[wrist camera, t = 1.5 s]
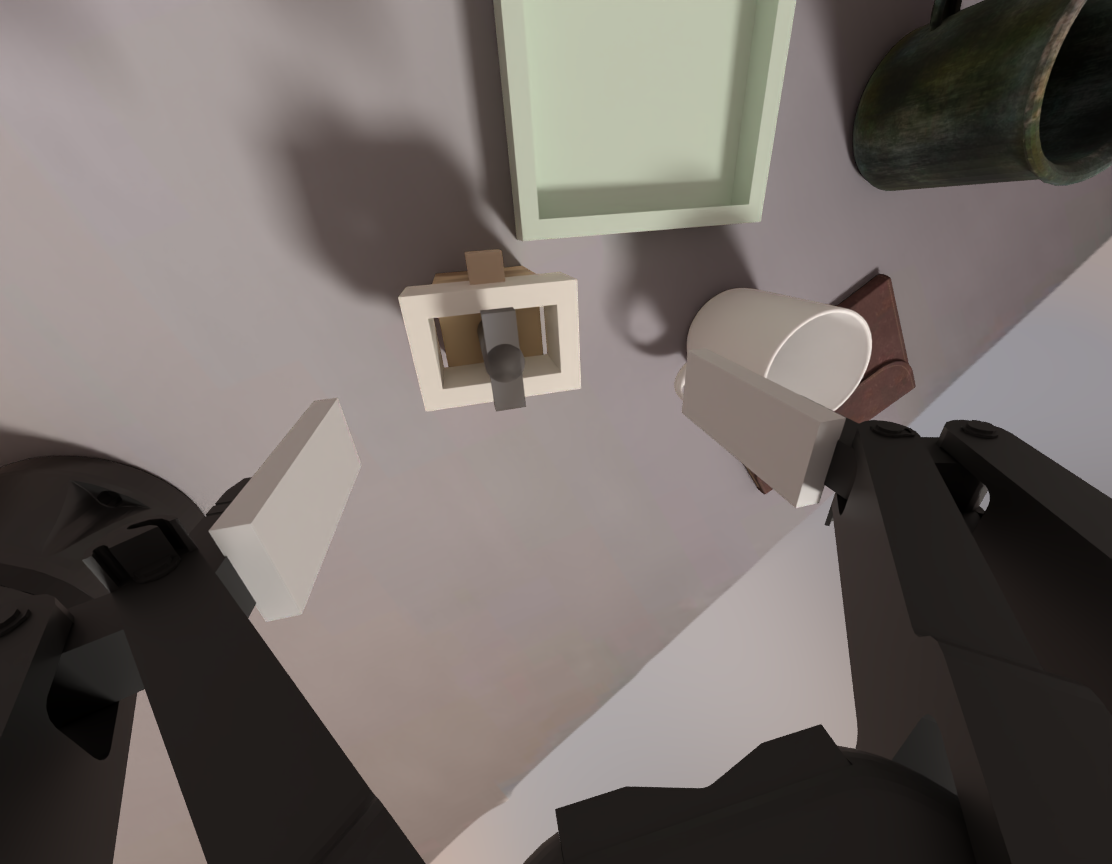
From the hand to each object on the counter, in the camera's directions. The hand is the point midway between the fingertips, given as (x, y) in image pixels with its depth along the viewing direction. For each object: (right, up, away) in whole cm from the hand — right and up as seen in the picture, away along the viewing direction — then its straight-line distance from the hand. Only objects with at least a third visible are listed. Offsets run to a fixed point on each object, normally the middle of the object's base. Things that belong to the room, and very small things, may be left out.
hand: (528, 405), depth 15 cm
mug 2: (+28, +25, +16) cm, 41 cm away
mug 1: (+15, +7, +22) cm, 28 cm away
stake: (-4, +8, +16) cm, 18 cm away
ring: (-3, +6, +11) cm, 12 cm away
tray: (+6, +23, +11) cm, 26 cm away
